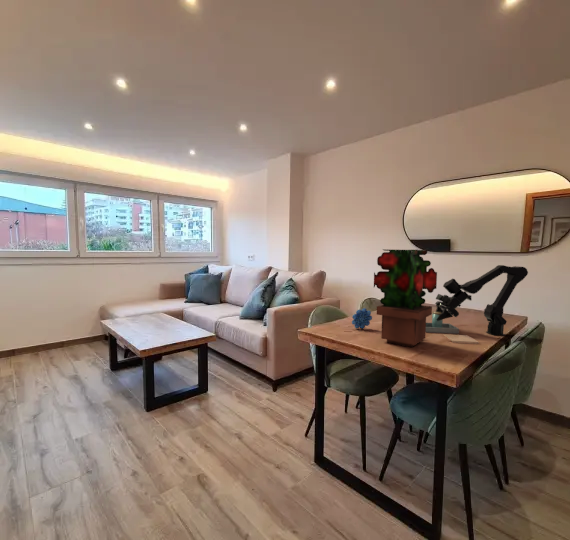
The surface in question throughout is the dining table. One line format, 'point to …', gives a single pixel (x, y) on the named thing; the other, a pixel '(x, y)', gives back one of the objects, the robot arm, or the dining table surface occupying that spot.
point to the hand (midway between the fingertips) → (434, 318)
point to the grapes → (361, 318)
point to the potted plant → (404, 295)
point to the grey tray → (445, 328)
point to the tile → (461, 339)
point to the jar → (434, 321)
